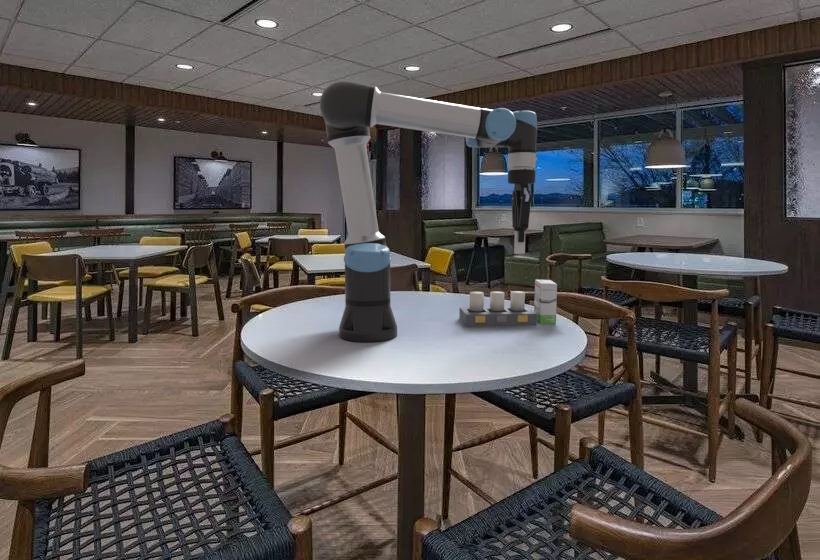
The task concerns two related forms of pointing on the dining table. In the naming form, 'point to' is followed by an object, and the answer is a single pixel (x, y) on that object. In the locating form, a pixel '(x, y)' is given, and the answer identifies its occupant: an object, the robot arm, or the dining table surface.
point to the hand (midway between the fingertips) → (519, 253)
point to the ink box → (545, 301)
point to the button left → (476, 301)
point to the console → (497, 317)
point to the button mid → (497, 301)
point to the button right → (517, 300)
